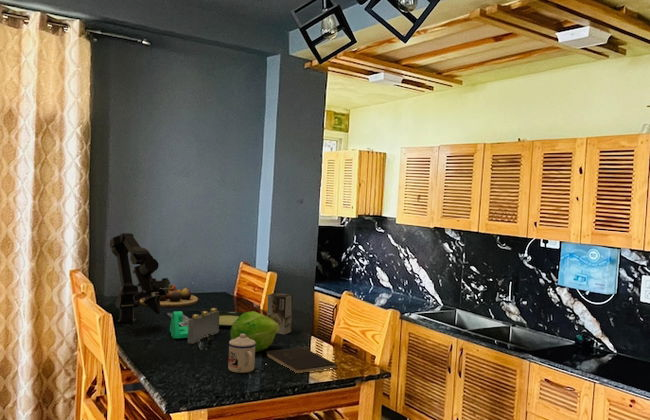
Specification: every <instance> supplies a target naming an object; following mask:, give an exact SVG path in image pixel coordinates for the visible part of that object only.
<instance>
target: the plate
mask: <svg viewBox="0 0 650 420" xmlns="http://www.w3.org/2000/svg"><path fill="white" fill-rule="evenodd" d="M219 311H220V310H219ZM243 313H245V312H242V311H231V310H230V311H226V310H225V311H223V310H222V311H220V315H219V327H224V328H225V327H231V328H232V325H233V323H234V322H235V321H236V320H237V318H238V317H239V316H241V315H242V314H243ZM201 315H202V313H201V314H200V315H199V316H201Z"/></svg>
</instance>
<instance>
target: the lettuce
mask: <svg viewBox="0 0 650 420" xmlns="http://www.w3.org/2000/svg"><path fill="white" fill-rule="evenodd" d="M279 328H280V327H279V324H278V323H276V322H275V321H274V320H272V319H271V318H269V317H267V315H264V314H262V313H259V312H257V311H254V310H252V311H247V312H244V313H243V314H242V315H241V316H239V317H238V318H237V320H236V321H235V322H234V323H233V325H232V327H231V328H230V330H229V331H230V335H229V336H230V340H232V339H235V338H237V337H240V334H246V337H248V338H250V339H252V340H254V341H255V342H256V346H255V353H257V352H260V351H263V350H267V349H268V348H269V347H270V346H271V344H272V343H273V341H274V339H275V338H276V337H275V336H276V334H278V333H277V332H278V330H279Z"/></svg>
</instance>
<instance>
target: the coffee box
mask: <svg viewBox="0 0 650 420" xmlns="http://www.w3.org/2000/svg"><path fill="white" fill-rule="evenodd" d="M293 296H294V295H293V294H288V293H280V292H274V293H270V294H267V310H266V311H267V313H266V316H267V317H269V318H271V319H272V320H274V321H275V322H276V323H278V324H279V327H280V328H279V330H278V332H277V333H276V334H278V335H287V334H290V333H292V321H293V320H292V317H293V314H292V313H293Z"/></svg>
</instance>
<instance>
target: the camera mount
mask: <svg viewBox="0 0 650 420" xmlns="http://www.w3.org/2000/svg"><path fill="white" fill-rule="evenodd" d="M183 320H184V313H183V311H180V310H178V311H177V310H176V311H172V314H171V318H170V323H169V324H170V325H169V332H170V334H171V337H172V338H173V339H184V338H185V339H188V326H180V323H183Z"/></svg>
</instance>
